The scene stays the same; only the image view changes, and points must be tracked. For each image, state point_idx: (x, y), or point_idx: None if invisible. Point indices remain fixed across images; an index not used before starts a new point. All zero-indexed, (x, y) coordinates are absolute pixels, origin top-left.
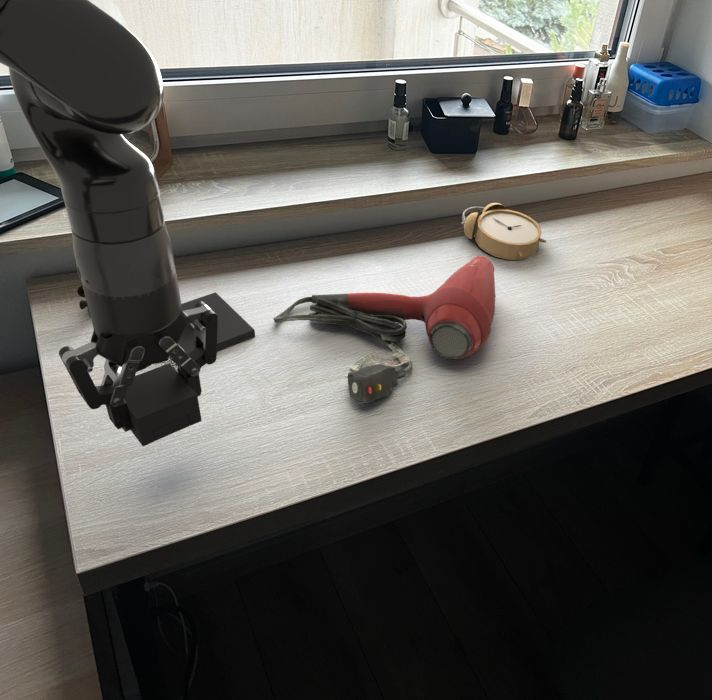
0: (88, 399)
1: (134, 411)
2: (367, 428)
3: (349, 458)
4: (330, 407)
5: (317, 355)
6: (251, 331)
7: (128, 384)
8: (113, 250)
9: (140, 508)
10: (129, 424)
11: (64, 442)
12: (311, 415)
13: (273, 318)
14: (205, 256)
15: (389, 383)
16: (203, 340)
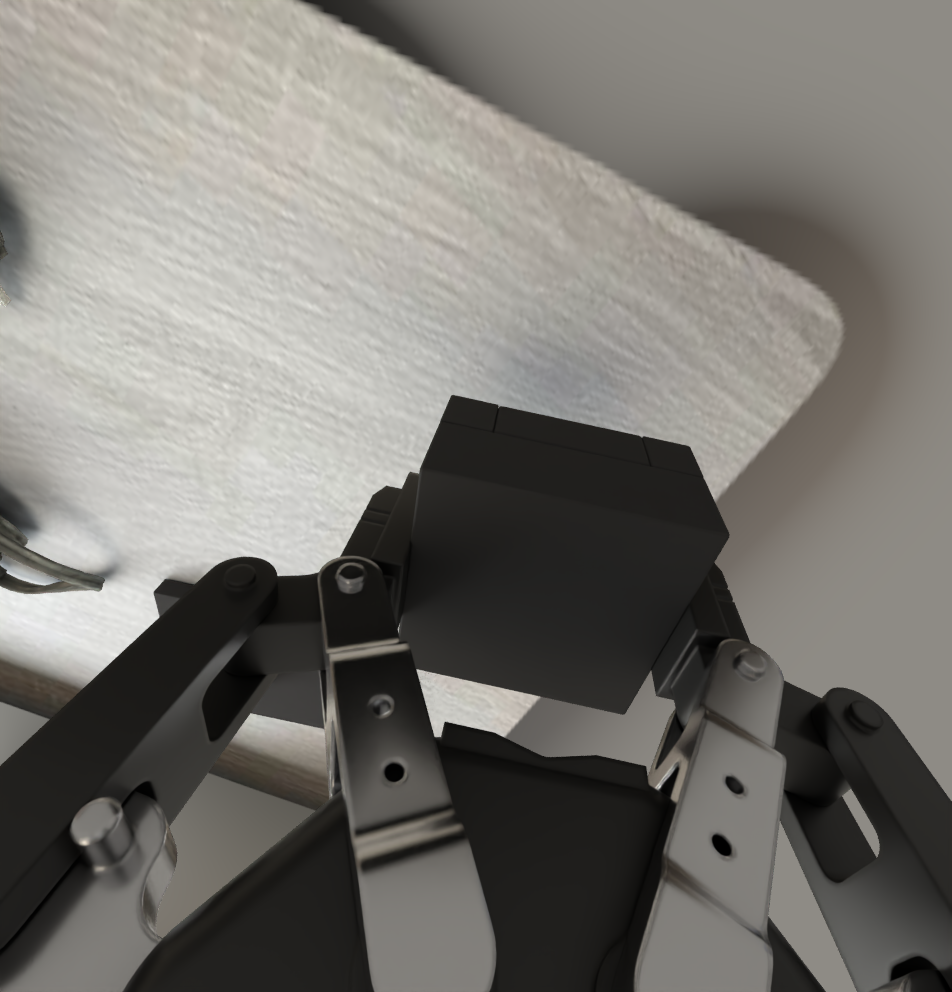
0: (917, 768)
1: (692, 575)
2: (11, 107)
3: (116, 36)
4: (90, 279)
5: (54, 448)
6: (161, 592)
7: (728, 727)
8: None
9: (654, 373)
10: None
11: None
12: (151, 296)
13: (98, 589)
14: None
15: None
16: (186, 710)
